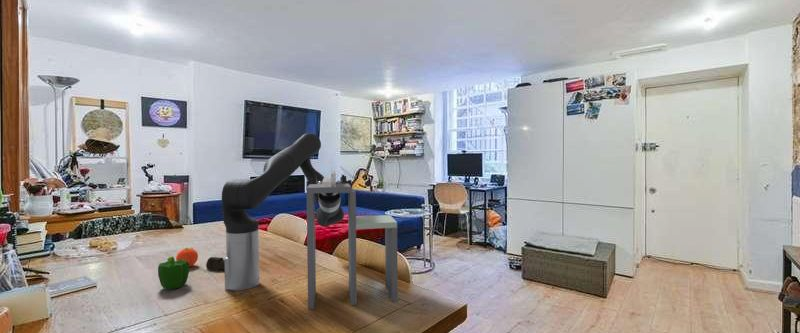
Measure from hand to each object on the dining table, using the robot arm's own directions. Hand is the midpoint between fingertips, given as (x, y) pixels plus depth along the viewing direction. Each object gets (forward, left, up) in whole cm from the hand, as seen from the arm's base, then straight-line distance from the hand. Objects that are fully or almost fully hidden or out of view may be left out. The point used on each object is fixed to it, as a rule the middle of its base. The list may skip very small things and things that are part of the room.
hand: (329, 177), depth 107 cm
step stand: (+6, -10, -34) cm, 36 cm away
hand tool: (-35, +23, -34) cm, 54 cm away
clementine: (-52, +31, -34) cm, 69 cm away
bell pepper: (-48, +9, -34) cm, 59 cm away
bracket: (0, -6, -2) cm, 6 cm away
